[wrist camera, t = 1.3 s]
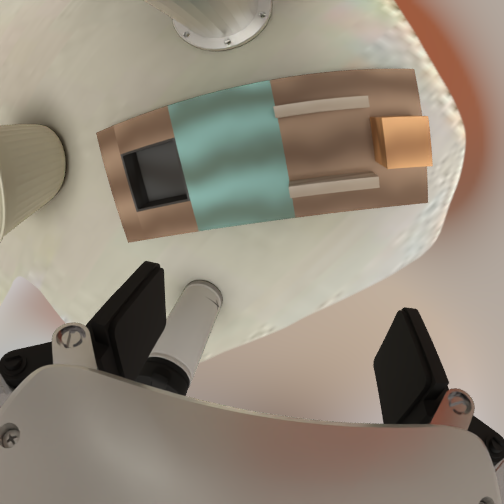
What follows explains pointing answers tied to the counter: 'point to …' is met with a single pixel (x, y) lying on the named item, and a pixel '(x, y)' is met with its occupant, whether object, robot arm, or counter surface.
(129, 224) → the board
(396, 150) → the block
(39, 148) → the canister
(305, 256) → the counter surface
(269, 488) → the robot arm
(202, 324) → the travel mug
